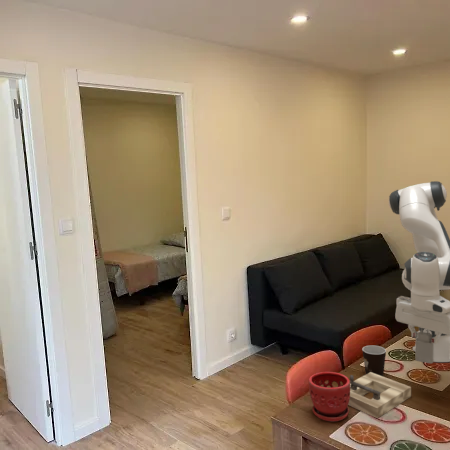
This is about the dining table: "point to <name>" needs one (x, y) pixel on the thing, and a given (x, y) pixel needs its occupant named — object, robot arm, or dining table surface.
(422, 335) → the power adapter
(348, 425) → the dining table surface
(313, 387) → the plant pot
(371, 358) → the coffee mug
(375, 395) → the tidy board
